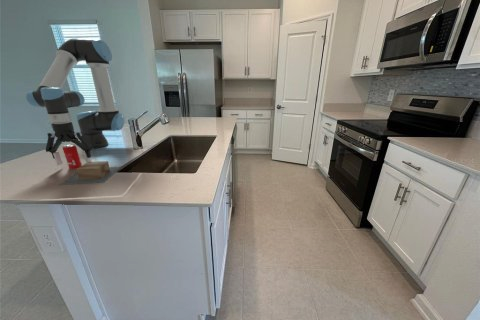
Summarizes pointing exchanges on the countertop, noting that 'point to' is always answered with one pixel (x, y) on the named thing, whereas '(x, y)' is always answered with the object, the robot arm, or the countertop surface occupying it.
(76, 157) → the beverage can
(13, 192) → the countertop surface
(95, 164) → the base block
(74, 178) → the mat
